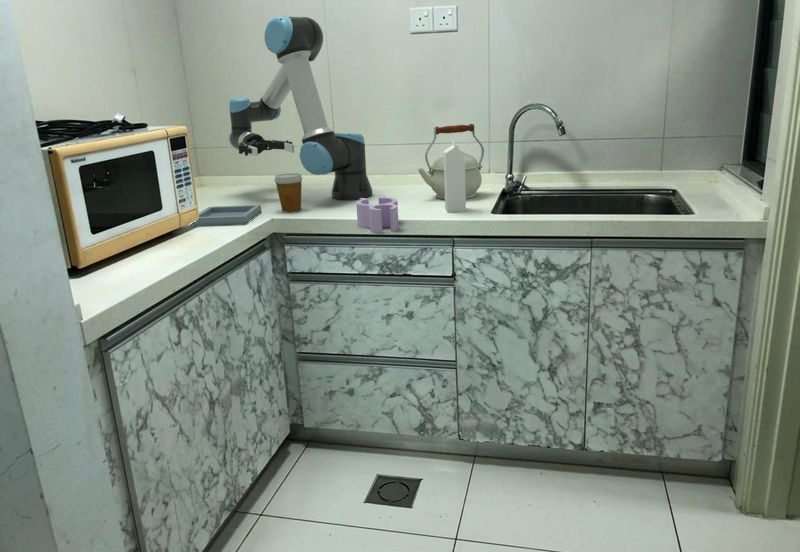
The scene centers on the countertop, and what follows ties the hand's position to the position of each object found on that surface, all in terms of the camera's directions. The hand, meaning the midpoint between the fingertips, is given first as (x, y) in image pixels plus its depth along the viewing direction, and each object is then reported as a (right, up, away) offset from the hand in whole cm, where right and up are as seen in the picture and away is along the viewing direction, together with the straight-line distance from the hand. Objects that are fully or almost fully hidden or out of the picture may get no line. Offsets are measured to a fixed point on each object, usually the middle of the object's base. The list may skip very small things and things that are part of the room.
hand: (275, 150), depth 227 cm
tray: (-14, -25, -11) cm, 30 cm away
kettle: (+62, -15, +7) cm, 64 cm away
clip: (+37, -28, -29) cm, 55 cm away
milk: (+61, -22, -15) cm, 67 cm away
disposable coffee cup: (+6, -21, -2) cm, 22 cm away
